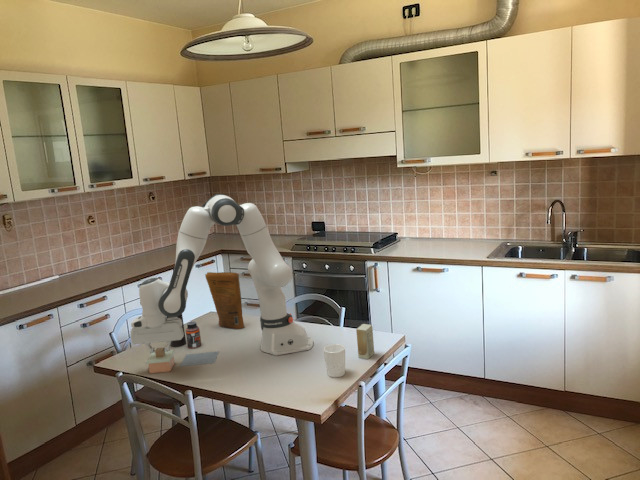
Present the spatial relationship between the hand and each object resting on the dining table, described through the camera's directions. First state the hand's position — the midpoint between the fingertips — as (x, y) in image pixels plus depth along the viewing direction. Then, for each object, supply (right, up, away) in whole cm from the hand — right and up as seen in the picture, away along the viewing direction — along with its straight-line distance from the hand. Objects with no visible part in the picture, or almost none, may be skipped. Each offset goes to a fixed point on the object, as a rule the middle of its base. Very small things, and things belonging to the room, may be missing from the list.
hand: (160, 351), depth 210 cm
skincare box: (+83, -1, -2) cm, 83 cm away
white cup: (+70, -5, -15) cm, 72 cm away
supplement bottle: (+9, -3, +22) cm, 24 cm away
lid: (0, -3, +1) cm, 3 cm away
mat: (+14, -5, +8) cm, 17 cm away
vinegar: (+1, -3, +26) cm, 26 cm away
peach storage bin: (+1, -8, +1) cm, 8 cm away
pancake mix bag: (+21, +2, +44) cm, 49 cm away
